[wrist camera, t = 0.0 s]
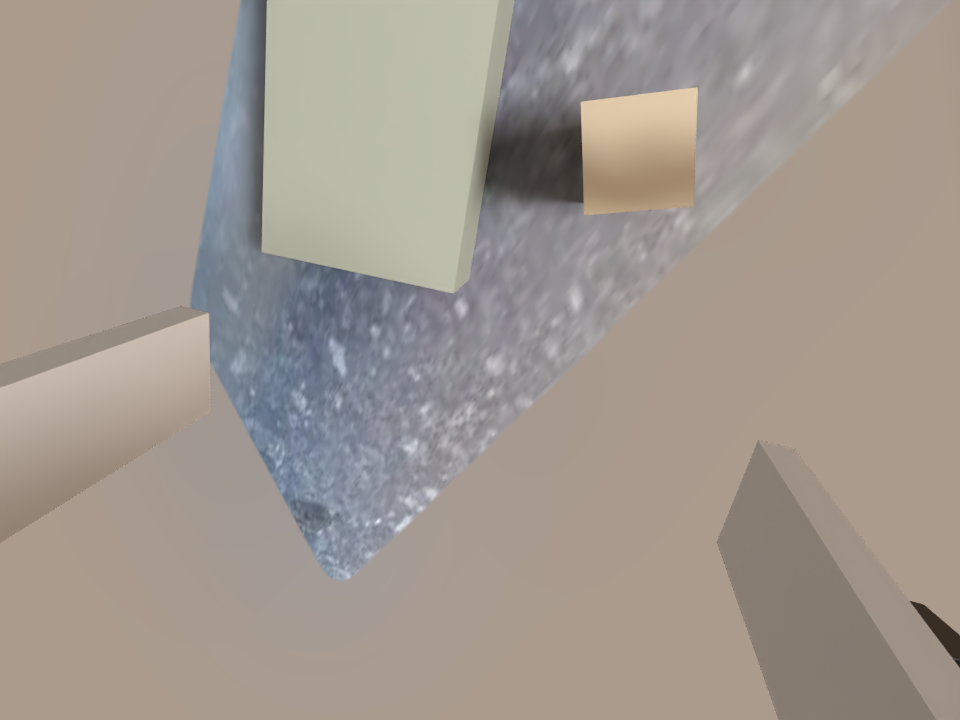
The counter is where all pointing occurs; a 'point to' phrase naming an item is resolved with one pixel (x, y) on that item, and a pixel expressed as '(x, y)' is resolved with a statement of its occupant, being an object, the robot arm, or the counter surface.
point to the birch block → (639, 152)
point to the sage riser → (380, 133)
